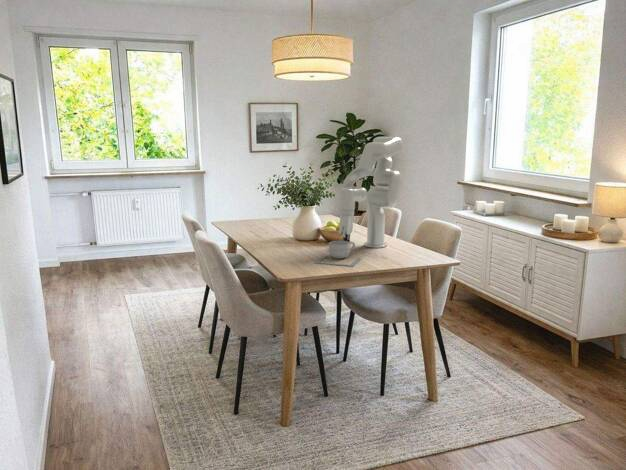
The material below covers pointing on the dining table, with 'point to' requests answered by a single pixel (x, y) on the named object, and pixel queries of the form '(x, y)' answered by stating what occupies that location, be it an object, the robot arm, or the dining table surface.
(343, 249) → the teacup
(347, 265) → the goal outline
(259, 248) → the dining table surface
